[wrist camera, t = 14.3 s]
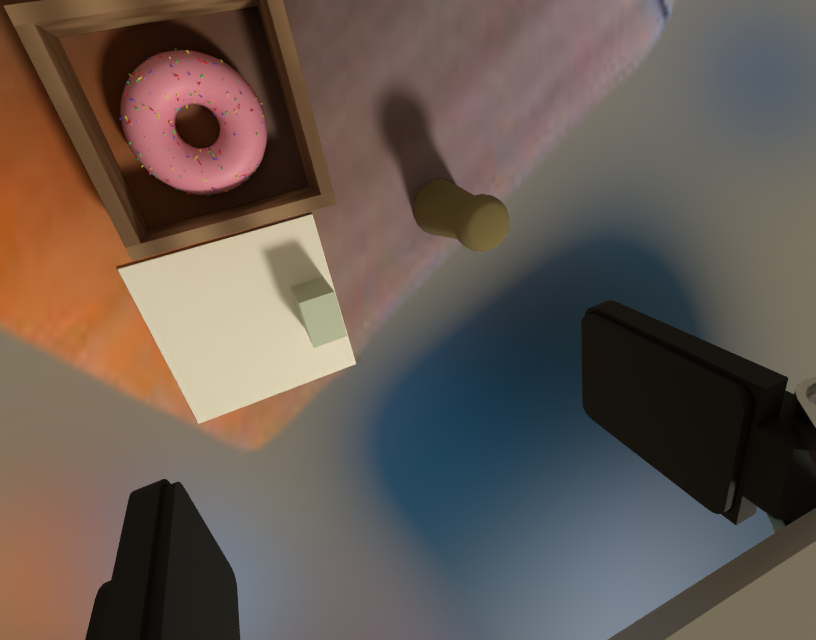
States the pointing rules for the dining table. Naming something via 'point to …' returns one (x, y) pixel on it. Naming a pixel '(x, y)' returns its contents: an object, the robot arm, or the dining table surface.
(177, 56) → the doughnut
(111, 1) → the open wooden box
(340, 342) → the lid
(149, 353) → the dining table surface
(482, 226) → the cork
